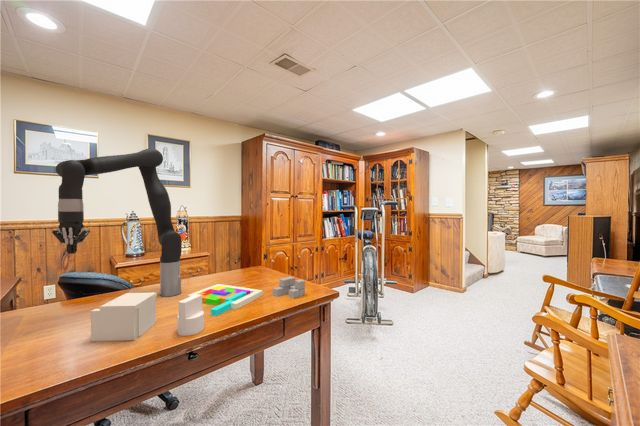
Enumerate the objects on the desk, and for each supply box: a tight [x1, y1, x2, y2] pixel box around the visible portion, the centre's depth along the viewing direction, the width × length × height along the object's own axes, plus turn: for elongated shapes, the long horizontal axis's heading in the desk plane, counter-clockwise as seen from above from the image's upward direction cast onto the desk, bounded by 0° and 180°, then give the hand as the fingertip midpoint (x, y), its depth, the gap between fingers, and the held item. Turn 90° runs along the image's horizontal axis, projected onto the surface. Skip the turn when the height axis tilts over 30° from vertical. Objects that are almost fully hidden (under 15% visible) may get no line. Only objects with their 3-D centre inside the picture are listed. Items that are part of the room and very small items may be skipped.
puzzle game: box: [186, 283, 264, 317], centre depth 131 cm, size 30×3×30 cm
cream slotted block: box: [90, 292, 158, 342], centre depth 98 cm, size 14×14×12 cm
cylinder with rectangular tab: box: [176, 294, 205, 337], centre depth 100 cm, size 9×9×12 cm
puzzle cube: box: [272, 276, 306, 300], centre depth 139 cm, size 12×12×8 cm
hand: (71, 253), depth 107 cm, fingers closed
